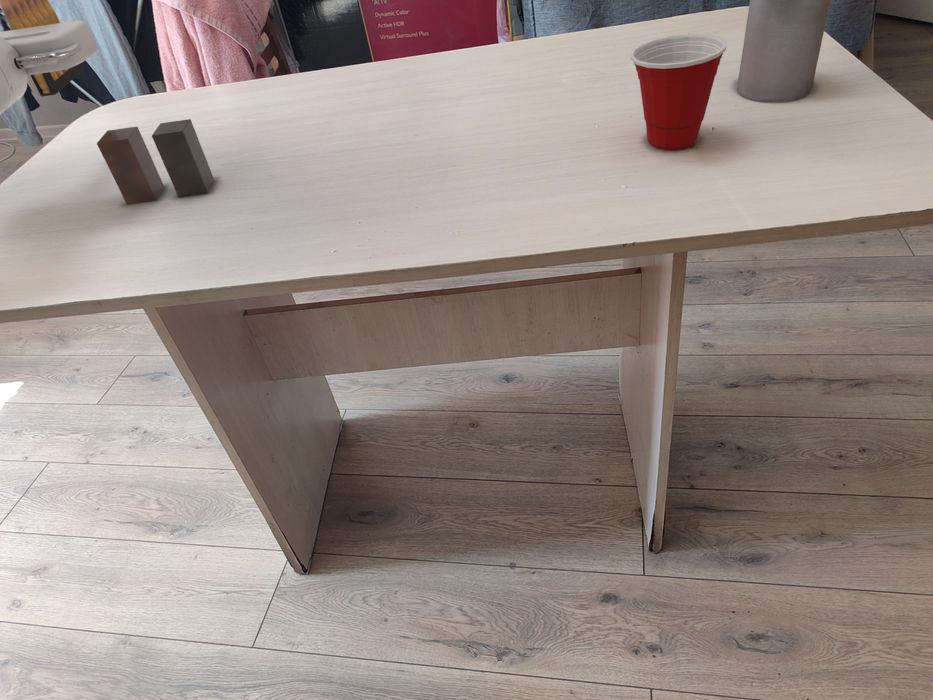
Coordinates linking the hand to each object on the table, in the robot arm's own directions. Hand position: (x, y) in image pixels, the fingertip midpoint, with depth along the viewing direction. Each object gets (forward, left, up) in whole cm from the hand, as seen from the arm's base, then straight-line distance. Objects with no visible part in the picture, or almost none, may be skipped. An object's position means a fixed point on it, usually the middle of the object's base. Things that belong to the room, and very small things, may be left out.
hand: (30, 34), depth 85 cm
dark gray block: (+16, -8, -20) cm, 27 cm away
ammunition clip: (0, +2, -7) cm, 7 cm away
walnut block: (+9, -8, -20) cm, 23 cm away
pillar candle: (+96, -1, -20) cm, 98 cm away
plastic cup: (+78, -13, -20) cm, 82 cm away
